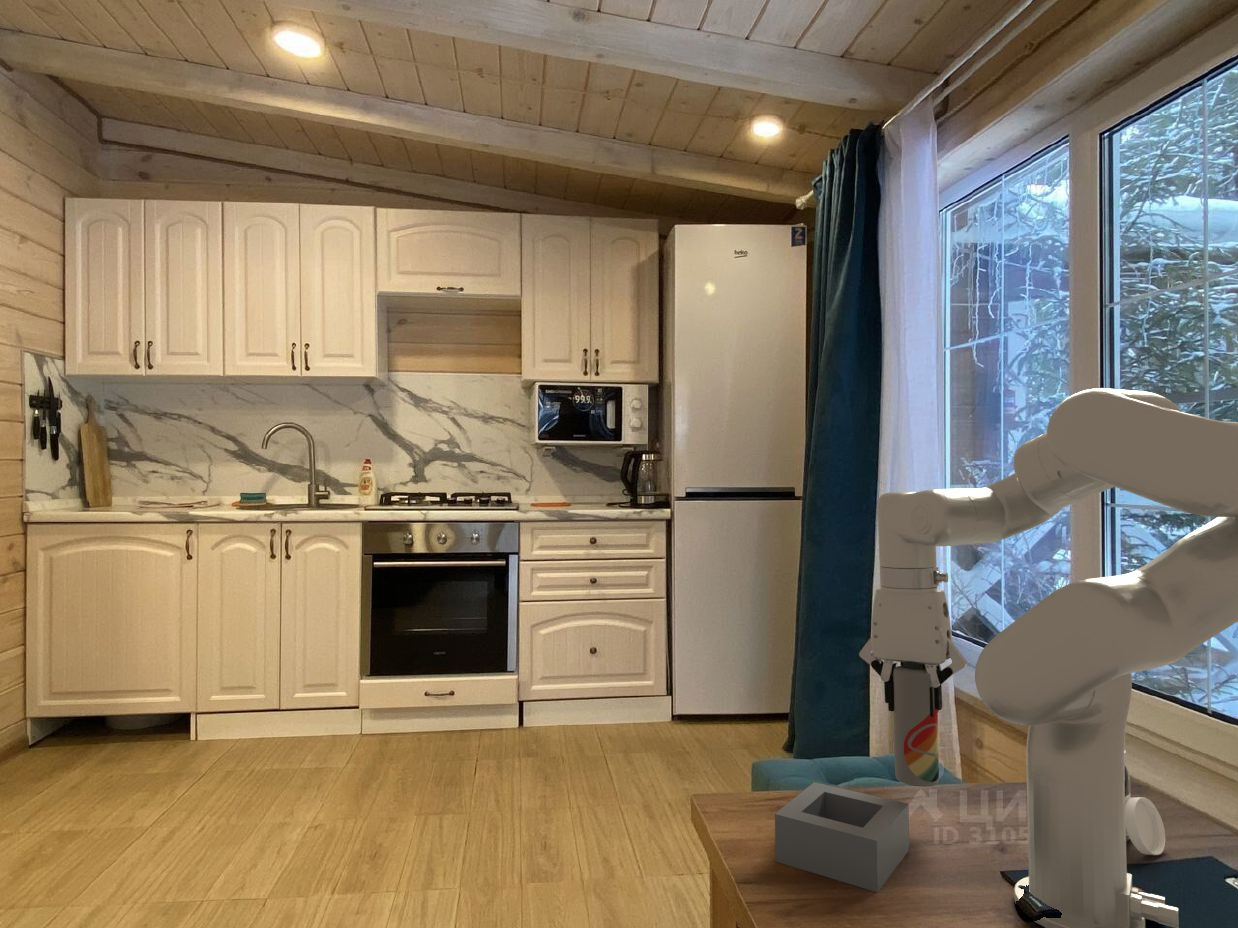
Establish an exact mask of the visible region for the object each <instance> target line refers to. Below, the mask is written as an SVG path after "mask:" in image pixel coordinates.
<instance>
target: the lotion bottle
mask: <svg viewBox="0 0 1238 928" xmlns="http://www.w3.org/2000/svg"><path fill="white" fill-rule="evenodd" d="M899 664H900V665H897V667H895V668H894V670H893V683H894V711H893V729H894V730H893V731H894V735H893V738H894V770H895V771H894V772H895V773H894V775H895V779H896V780H898V781H899V782H901V783H902V784H904V785H909V786H913V787H924V788H925V787H926V788H927V787H934V786H936V785H938V783H939V782H940V760H939V759H940V756H939V755H940V754H939V752H940V751H939V748H940V747H939V715H938V714H939V712H938V710H936V709H935V706H934V687H932V686H931V683H932V682H931V676H930V674H929V673H927V670H926V667H925V664H919V663H916V662H899ZM929 687H932V689H933V709H934V717H931V716H930V690H929Z"/></svg>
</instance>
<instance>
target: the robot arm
mask: <svg viewBox="0 0 1238 928" xmlns="http://www.w3.org/2000/svg"><path fill="white" fill-rule="evenodd" d="M1046 426H1047V427H1046V432H1044V433H1042V434H1041V435H1038V436H1036V437H1034V438H1033V439H1030V440H1027V441H1026V442H1024V443H1022V444H1021V445H1020V446H1019V447H1018V448H1017V450H1016V451H1015V454H1014V457H1013V470H1014V473H1012V474H1011V475H1009V476H1007V477H1004V478H1003V479H1001V480H998V481H996V482H994V483H992V484H989V485H986V486H983V487H979V488H977V487H976V488H975V487H967V488H965V487H964V488H934V489H927V490H921V491H894V492H893V491H891V492H885V493H882V494H881V495H880V496H879V497H878V500H877V527H878V528H877V530H878V533H877V534H878V552H879V553H878V554H879V556H878V557H879V559H878V560H879V582H880V587H876V588H875V593H874V599H873V606H872V607H873V608H872V615H871V635H870V636H871V637H870V638H869V639H868V640H867V642H866V643H865V644H864V646H863V647H862V649H861V650H860V651H859V653H858V655H859V657H860V658H861V659H862V660H863V661H865V662H866V663H867V664H868V665H870V666H871V669H873V670H874V671H875V672H876V674H878V675H879V677H880V679H881V681H883V683H884V684H883V685H884V702H885V704H887V705H888V706H887V707H888V711H889V712H894V683H893V670H894V668H895V667H897V666H898V663H900V662H916V663H919V664H925V667H926V670H927V673H929V674H930V676H931V682H932V683H931V686H932V687H934V706H935V709H936V710H938V713H939V711H941V710H942V709H943V689H942V688H943V687H942V684H943V683H945V682H946V681H947V680H948V679H949V678H951V677H952V676H953V675H955V674H956V673H958V672H959V671H960V670H962V669H964V668H965V667H967V665H968V661H967V659H966V658H965V656H964V655H963V653H961V652H960V650H959V649H958V648H957V646H956V645H955V644H954V643H953V634H952V627H951V618H950V617H951V616H950V611H949V607H948V601H947V597H946V593H945V590H944V589H939V588H938V587H939V586H940V584H943V583H948V582H949V574H948V572H942V571H940V570H939V567H938V566H937V547H955V546H967V545H984V544H985V545H987V544H992V543H996V542H999V541H1003V540H1005V539H1008V538H1011V537H1013V536H1016V535H1018V534H1020V533H1024V532H1026V531H1028V530H1031V529H1033V528H1037V527H1038V526H1040V525H1042V524H1045V523H1046V522H1049V520H1051V519H1052V518H1053V517H1054V516H1055V515H1057V514H1058V513H1060V512H1061V510H1062V509H1063V508H1065V507H1068V506H1071V505H1073V504H1076V503H1078V502H1080V501H1083V500H1086V499H1087V498H1090V497H1092V496H1095V495H1098V494H1100V493H1103V492H1104V491H1105V492H1106V491H1107V490H1110V489H1113V488H1116V489H1119V490H1123V491H1125V492H1128V493H1130V494H1134V495H1135V496H1136V495H1137V496H1139V497H1141V498H1145V499H1147V500H1149V501H1153V502H1155V503H1158V504H1161V505H1163V506H1166V507H1169V508H1172V509H1175V510H1177V511H1182V512H1184V513H1187V514H1192V515H1195V516H1196V515H1197V516H1201V517H1202V516H1203V517H1213V518H1214V519H1213V520H1211V521H1209V522H1207V523H1205V524H1204V525H1202V526H1200V527H1199V528H1196V529H1195V530H1194V531H1191V532H1190V533H1188V534H1187V535H1185V536H1184V537H1182V538H1179V540H1177V541H1176V542H1175V543H1174V544H1172V545H1171V546H1170V547H1169V548H1168V549H1167V550H1165V551H1164V552H1163V553H1161V554H1159V555H1158V556H1156V557H1155V558H1153V559H1152V560H1151V561H1149V562H1147V563H1145V564H1144V565H1143V566H1141V567H1139V568H1137V569H1135V570H1134V571H1131V572H1128V573H1124V574H1123V573H1122V574H1119V575H1112V576H1111V575H1110V576H1109V575H1108V576H1102V577H1091V578H1085V579H1082V580H1075V581H1074V582H1071V583H1069V584H1067V585H1064V586H1062V587H1060V588H1058V589H1056V590H1055V591H1053V592H1051V593H1050V594H1048V595H1047V596H1046V597H1044V598H1043V599H1042V600H1040V601H1039V602H1038V603H1036V604H1035V605H1034V606H1032V607H1031V608H1029V610H1027V611H1026V612H1025V613H1023V614H1022V615H1021V616H1019V618H1017V619H1016V620H1015V621H1013V622H1011V624H1009V625H1008V626H1007V627H1005V628H1004V629H1003V630H1002V631H1000V632H999V633H998V634H997V635H995V636H994V637H992V639H991V640H990V641H989V642H988V643H987V644H986V645H985V646H984V647H983V648H982V651H981V652H980V653H979V656H978V658H977V660H976V661H977V662H976V665H975V670H974V680H975V681H974V682H975V686H976V691H977V693H978V696H979V698H980V699H981V701H982V702H983V704H984V705H985V706H986V708H988V710H989V711H991V712H992V714H993V715H996V716H997V717H999V718H1001V719H1002V720H1003V721H1006V722H1008V723H1012V724H1016V725H1020V726H1029V727H1028V731H1027V738H1026V750H1025V752H1026V764H1025V765H1026V808H1027V809H1026V810H1027V852H1028V853H1027V854H1028V855H1027V856H1028V876H1026V877H1023V878H1022V879H1020V880H1018V881H1017V882H1016V883H1015V885H1014V888H1013V899H1014V902H1015V903H1016V901H1019V899H1020V898H1021V897H1022V896H1023V894H1024V889H1021V888H1020V887H1021V886H1025V887H1026V885H1027V886H1028V885H1029V892H1030V893H1031V894H1032V895H1033V896H1034V897H1036V898H1038V899H1039V900H1041V901H1042V902H1043V903H1045V904H1046V905H1048V906H1050V907H1052V908H1054V909H1057V910H1059V911H1060V912H1061V913H1062V915H1061V918H1046V917H1043V918H1041V919H1040V920H1037V921H1034V923H1037V924H1038V925H1040V926H1042V927H1044V928H1146V920H1149V921H1152V922H1153V921H1154V922H1156V923H1158V924H1160V925H1165V926H1168V927H1170V928H1171V927H1172V928H1180V927H1179V923H1180V922H1179V921H1180V920H1179V908H1178V907H1176V906H1171V905H1168V904H1166V896H1163V895H1158V894H1155V893H1148V892H1145V891H1144V892H1143V891H1140V890H1139V887H1135V886H1133V874H1131V873H1128V870H1127V869H1128V868H1127V841H1126V824H1125V783H1124V781H1125V767H1124V750H1125V747H1126V746H1125V744H1126V743H1125V742H1126V739H1125V738H1126V729H1127V722H1128V721H1127V720H1128V715H1129V709H1130V703H1131V699H1132V698H1131V697H1132V689H1133V682H1132V681H1133V677H1132V674H1134V673H1139V672H1144V671H1150V670H1154V669H1158V668H1162V667H1165V666H1168V665H1171V664H1173V663H1176V662H1177V661H1179V660H1181V659H1182V658H1184V657H1185V656H1186V655H1189V654H1190V653H1191V652H1192V651H1194V650H1195V649H1196V648H1198V647H1200V646H1201V645H1203V644H1204V643H1206V642H1207V641H1209V640H1210V639H1212V638H1214V637H1215V636H1217V635H1219V634H1220V633H1222V632H1224V631H1225V630H1227V629H1228V628H1230V627H1231V626H1233V625H1234V624H1236V623H1238V421H1225V420H1216V419H1212V418H1208V417H1204V416H1200V415H1195V414H1191V413H1187V412H1183V411H1182V409H1181V408H1180V407H1179V406H1178V405H1177V404H1175V403H1174V402H1173V401H1171V400H1170V399H1168V398H1167V397H1165V396H1162V395H1160V394H1158V393H1154V392H1149V391H1144V390H1143V391H1142V390H1130V389H1116V388H1107V387H1106V388H1105V387H1104V388H1103V387H1101V388H1100V387H1099V388H1091V389H1085V390H1082V391H1079V392H1077V393H1074V394H1072V395H1070V396H1069V397H1067V398H1066V399H1064V400H1063V401H1062V402H1060V404H1058V406H1057V407H1056V408H1055V409H1054V410H1053V413H1052V414H1051V415H1050V418H1049V420H1048V422H1047V425H1046ZM949 659H950V660H951V663H950V664H949V665H947V666H945V667H944V668H943V669H942V666H941V664H943V663H945V662H946V660H949ZM932 687H929V690H930V716H931V717H934V709H933V689H932Z"/></svg>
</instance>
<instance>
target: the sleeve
mask: <svg viewBox="0 0 1238 928" xmlns="http://www.w3.org/2000/svg"><path fill="white" fill-rule="evenodd" d="M909 805H910V804H909V803H906V802H902V801H899V800H893V799H889V798H886V797H880V796H876V795H873V794H872V795H871V794H868V793H864V792H858V791H854V790H851V789H845V788H841V787H837V786H832V785H828V784H824V783H820V782H815V781H814V782H812V783H811V784H809V785H808V786H807V787H806V788H805V789H804V790H802V792H800V793H799V794H797V795H796V796H795V797H794V798H792V799H791V800H790V801H789V802H787V803H786V804H785V805H784V806H783V807H781V808H780V809H779V810H778V811H776V813H774V842H775V843H774V848H775V850H774V852H775V860H774V861H775V862H776V863H778V864H783V865H786V866H789V867H792V868H795V869H799V870H802V871H806V872H810V873H812V874H815V875H818V876H822V877H825V878H829V879H832V880H835V881H838V882H842V883H845V884H849V885H850V886H855V887H858V888H862V889H864V890H867V891H872V892H874V893H879V891H881V889H882V887H883V886H884V884H885V883H886V882H887V880H889V878H890V877H891V876H892V874H893V873H894V871H895V870H896V869H897V868H898V866H899V865H900V863H901V862H902V861H903V859H905V856H906V855H907V854H908V853H909V851H910V814H909V813H910V808H909V807H910V806H909Z"/></svg>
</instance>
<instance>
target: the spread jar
mask: <svg viewBox="0 0 1238 928" xmlns="http://www.w3.org/2000/svg"><path fill="white" fill-rule="evenodd" d="M1126 762H1127V751H1126V749H1124V767H1125V781H1124V783H1125V824H1126V842H1129V840H1130V842H1131V843H1132V844H1133V846H1134V847H1135V849H1136V850H1137V851H1139V852H1140V853H1141V854H1142V855H1146V856H1147V855H1148V856H1159V855H1161V854H1162V853H1163V851H1164V850H1165V848H1166V847H1165V846H1166V832H1165V825H1164V822H1163V820H1162V817H1161V815H1160V813H1159V810H1158V809H1157V807H1156V806H1155V804H1154V803H1153V802H1152V801H1151V800H1150V799H1149V798H1146V797H1144V796H1143V797H1138V796H1137V797H1131V790H1132V789H1131V777H1130V773H1129V770H1128V767H1127V765H1126Z"/></svg>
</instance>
